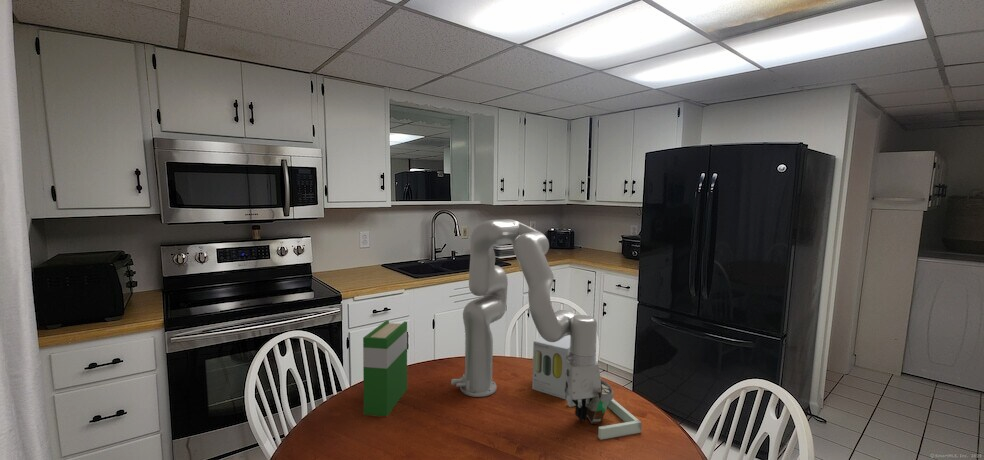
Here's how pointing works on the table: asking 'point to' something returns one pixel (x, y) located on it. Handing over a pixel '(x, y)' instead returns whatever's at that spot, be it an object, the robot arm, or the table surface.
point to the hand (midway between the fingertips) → (581, 417)
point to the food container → (599, 403)
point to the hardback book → (384, 367)
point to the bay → (621, 429)
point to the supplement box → (550, 365)
